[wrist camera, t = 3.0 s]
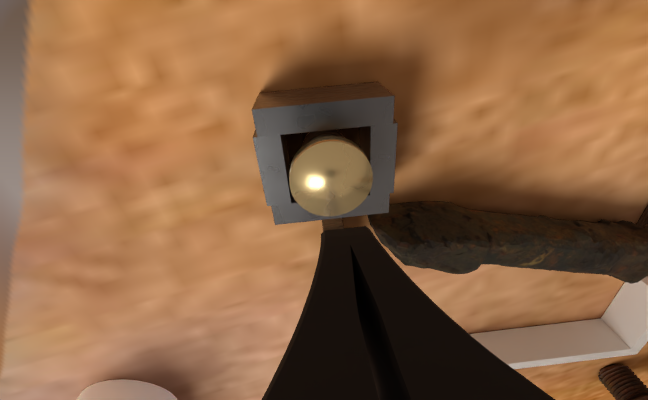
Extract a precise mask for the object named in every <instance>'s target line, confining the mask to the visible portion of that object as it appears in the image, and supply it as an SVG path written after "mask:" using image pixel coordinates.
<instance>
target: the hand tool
mask: <svg viewBox="0 0 648 400" xmlns="http://www.w3.org/2000/svg"><path fill="white" fill-rule="evenodd" d="M368 218H369V222H370V225H371V226H372V227H373V229H374V231H375V233H376V235H377V236H378V238H379V240H380V241H381V243H382V244H383V245H385V246H386V247H387V248H389V250H390V251H391V252H392V253H393V254H394V255H395V257H397V258H398V259H399V260H400V261H401V262H402V263H403V264H404V265H408V266H415V267H419V268H431V269H435V270H439V271H443V272H447V273H452V274H465V273H469V272H472V271H474V270H477V269H478V267H479V266H480V265H481V264H495V265H501V266H509V267H519V268H532V269H545V270H549V271H550V270H555V271H567V272H574V273H591V274H603V275H610V276H613V277H615V278H617V279H619V280H622V281H624V282H628V283H630V284H633V283H638V282H639V281H641V280H642V279H644V278H645V277H647V276H648V228H641V227H640V226H638V225H636V224H634V223H633V222H628V221H624V220H622V221H619V222H616V223H613V222H610V221H606V220H603V219H601V220H600V221H598V223H591V222H586V221H565V220H558V219H551V218H548V217H546V216H541V215H540V216H538V217H534V216H525V215H511V214H503V213H493V212H486V211H477V210H469V209H466V208H463V207H459V206H456V205H455V204H453V203H452V202H443V201H421V202H410V203H400V204H393V205H389V213H380V214H371V215H368Z"/></svg>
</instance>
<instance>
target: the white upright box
mask: <svg viewBox="0 0 648 400" xmlns="http://www.w3.org/2000/svg"><path fill="white" fill-rule="evenodd" d="M77 400H177V398H176V397H175V396H174V395H173V394H172V393H171V392H169V391H168V390H166V389H164V388H163V387H160V386H157V385H154V384H152V383H147V382H143V381H138V380H126V379H120V380H107V381H102V382H97V383H95V384H92V385H90V386H88V387H87V388H85V389H84V390H83V391H82V392H81V393H80V395H79V397H78V399H77Z"/></svg>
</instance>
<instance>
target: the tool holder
mask: <svg viewBox="0 0 648 400" xmlns="http://www.w3.org/2000/svg"><path fill="white" fill-rule="evenodd" d="M394 97H395V96H394V95H393V94H392V93H391V92H390V91H388V90H387V89H386V88H385V87H384V86H383V85H381V84H380V83H379V82H370V83H359V84H349V85H338V86H328V87H317V88H307V89H296V90H286V91H275V92H265V93H259V95H258V97H257V99H256V101H255V104H254V106H253V108H252V113H253V118H254V123H255V128H256V130H255V133H254V135H253V141H254V146H255V150H256V155H257V160H258V165H259V169H260V174H261V179H262V184H263V188H264V193H265V198H266V202H267V206H271V207H272V212H273V217H274V222H275V225H278V224H287V223H296V222H306V221H315V220H322V226H323V232H324V231H327V230H336V229H344V226H343V222H342V218H343V217H352V216H362V215H371V214H380V213H389V196H390V193H394V177H395V160H396V142H397V125H398V123H397V122H396V121H395V120H394V119H393V117H394ZM354 127H359V147H360V148H361V149H362V150H363V151H364V153H365V155H366V157H367V159H368V161H369V163H370V165H371V168H372V172H373V183H372V187H371V190H370V192H369V194H368V196H367V197H366V199H365V200H364V201H363V202H362V203H361V204H360V205H359V206H358V207H357V208H355V209H354V210H352V211H350V212H348V213H345V214H342V215H338V216H320V215H316V214H313V213H310V212H308V211H307V210H305V209H304V208H302V207H301V206H300V205H299V204H298V203H297V202H296V200H295V199H294V197H293V195H292V193H291V190H290V184H289V178H290V160H289V153H288V146H287V140H286V134H294V133H304V132H314V131H324V130H334V129H344V128H354ZM636 225H638V226H640V227H641V228H648V206H647V208H646V209H645V211H644V213H643V214H642V216H641V218H640V219H639V221H638V223H637V224H636Z"/></svg>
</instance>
